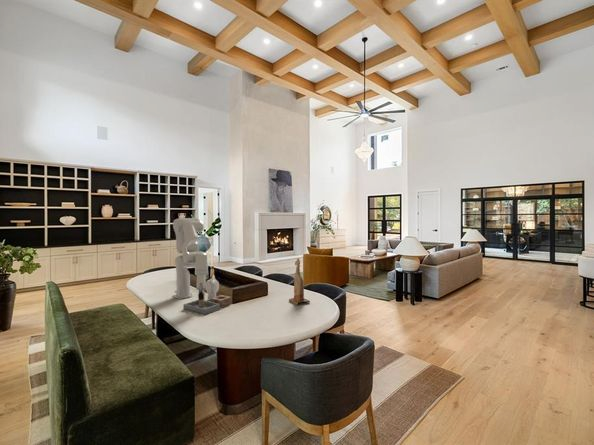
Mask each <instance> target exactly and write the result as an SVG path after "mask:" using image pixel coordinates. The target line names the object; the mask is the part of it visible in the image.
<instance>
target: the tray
mask: <svg viewBox="0 0 594 445" xmlns="http://www.w3.org/2000/svg"><path fill="white" fill-rule="evenodd" d="M219 310H221V308H220V304H218V303H213V302H211V301H210V300H205V308H199V300H198V299H196V300H193V301H191V302H187V303H184V304H183V311H187V312H192V313H196V314H199V315H203V316H206V315H208V314H211V313H214V312H216V311H219Z"/></svg>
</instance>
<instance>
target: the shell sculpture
mask: <svg viewBox="0 0 594 445" xmlns="http://www.w3.org/2000/svg"><path fill="white" fill-rule="evenodd" d="M219 289H220V283H219V281H218V280H216V277H215V274H212V276H211V277H210V279H209V280H207V281H206V280H205V289H204V290H205V292H207V301H209V302H211V298H214V297H217V293H218V292H219Z"/></svg>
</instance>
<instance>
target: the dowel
mask: <svg viewBox="0 0 594 445" xmlns="http://www.w3.org/2000/svg"><path fill="white" fill-rule="evenodd" d="M204 290H205V289H204ZM204 290H203V293H204ZM205 296H206V293H204V299H203V300H199V308H205V301H206V300H205V299H206V297H205Z"/></svg>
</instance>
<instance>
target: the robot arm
mask: <svg viewBox="0 0 594 445" xmlns="http://www.w3.org/2000/svg"><path fill="white" fill-rule="evenodd" d="M172 227H173V231H174V233H175V239H176V240H175V243H176V244H175V245H176V252H177V253H178V254H181V255H178V256H176V257H175V259H174V265H175V270H176V271H175V272H176V274H175V276H176V277H175V278H176V279H175V280H176V290H175V291H174V293H175V294H174V298H175V299H179V300H181V299H188V298H189V299H190V298H191V297H193V293H191V274H190V271H189V270H188V269H187V268H191V267H194V270H195V272H194V274H195V276H196V291H198V297H197V298H198V299H197V300H203V299H204V293H205V292H206V289H205V282H206V275H208V254H207V253H206V252H204V251H201V250H200V249H199V248H200V247H199V243H198V241H199V235H198V233H201V232H203V231H204V228H205V227H204V223H203V221H202V220H200V219H198V218H194V217H186V218H185V217H182V218H181V217H180V218H176V219H174V220H173V223H172ZM203 290H204V293H203ZM205 294H206V293H205Z"/></svg>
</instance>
